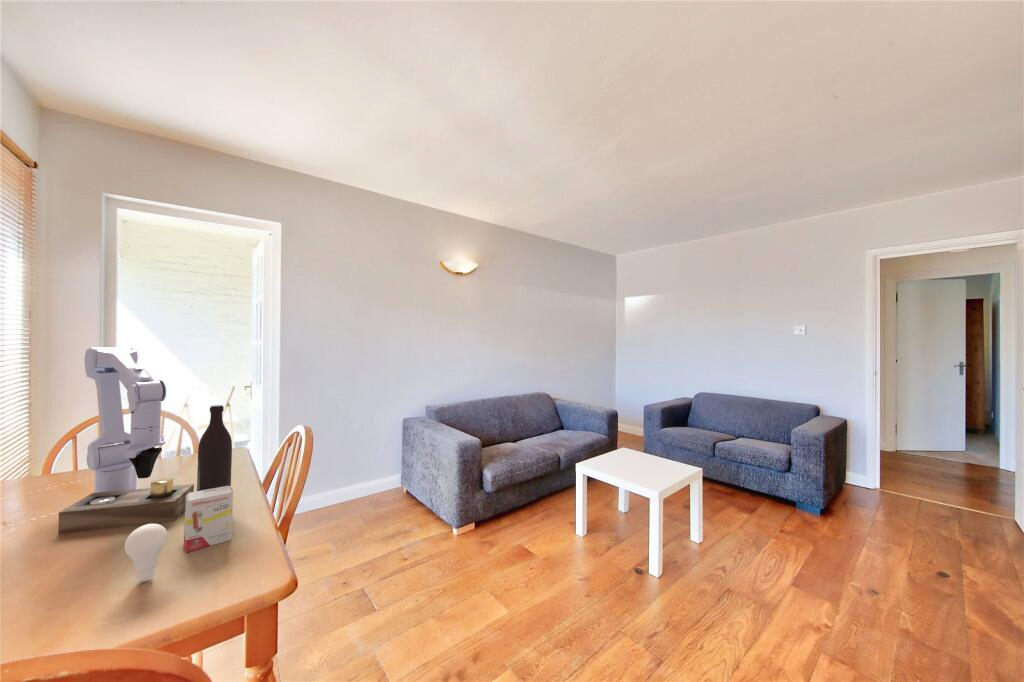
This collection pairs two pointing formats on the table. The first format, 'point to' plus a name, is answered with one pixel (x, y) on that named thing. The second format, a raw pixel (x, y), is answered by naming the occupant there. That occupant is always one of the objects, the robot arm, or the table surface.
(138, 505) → the peg board
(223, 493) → the ink box
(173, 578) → the table surface
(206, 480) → the wine bottle
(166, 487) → the brass peg
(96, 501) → the steel peg
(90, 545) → the table surface
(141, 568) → the lightbulb
